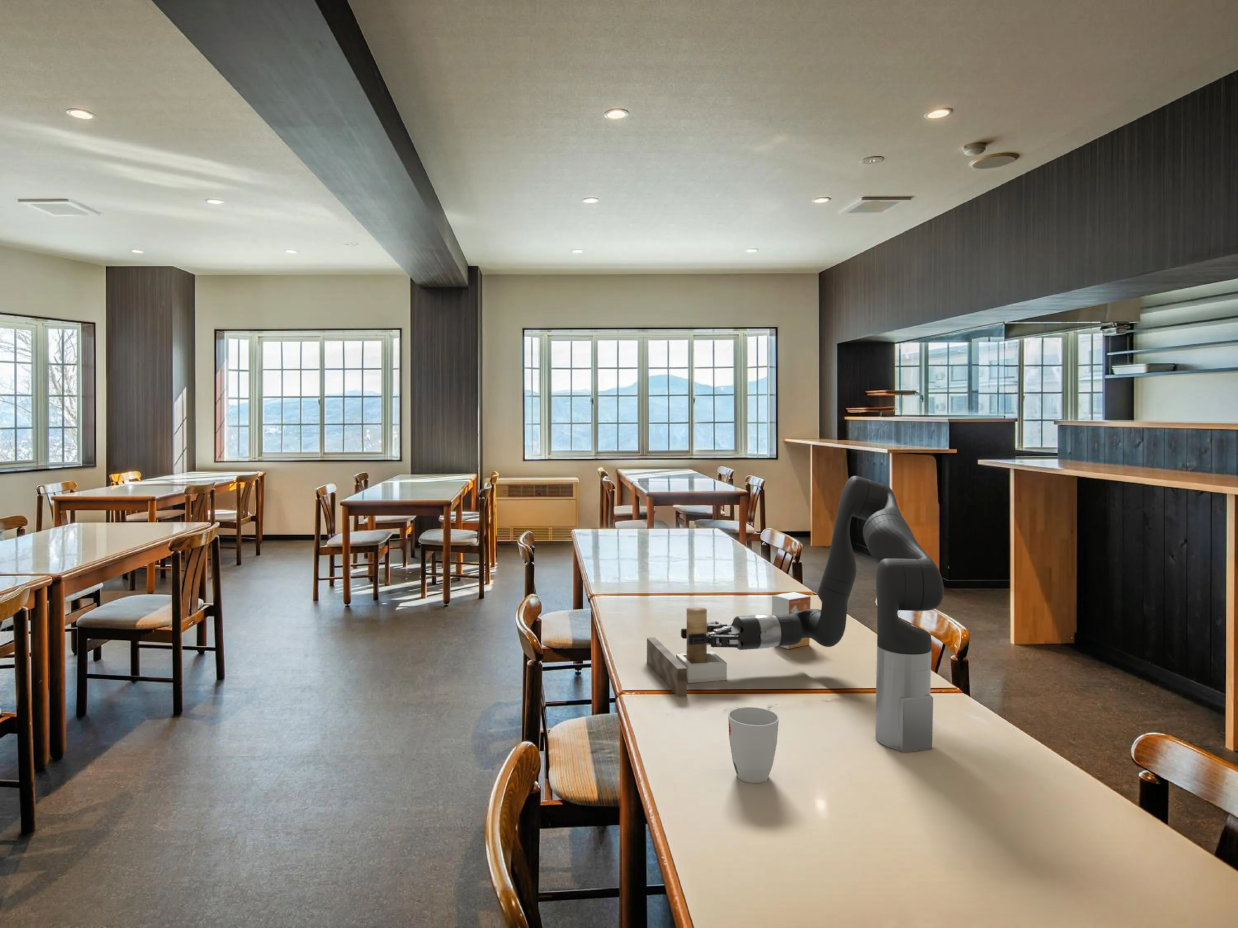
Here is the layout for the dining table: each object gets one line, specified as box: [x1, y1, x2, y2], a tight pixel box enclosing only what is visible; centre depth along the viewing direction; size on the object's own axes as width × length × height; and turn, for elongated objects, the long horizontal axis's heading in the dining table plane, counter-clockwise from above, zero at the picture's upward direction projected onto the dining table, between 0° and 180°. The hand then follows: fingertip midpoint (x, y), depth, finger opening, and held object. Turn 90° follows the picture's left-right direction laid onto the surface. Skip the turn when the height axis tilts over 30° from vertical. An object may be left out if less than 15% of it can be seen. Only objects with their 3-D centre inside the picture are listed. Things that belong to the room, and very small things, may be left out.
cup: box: [727, 706, 780, 784], centre depth 126 cm, size 8×8×10 cm
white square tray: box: [675, 651, 728, 684], centre depth 173 cm, size 9×9×4 cm
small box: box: [771, 591, 811, 650], centre depth 202 cm, size 8×6×13 cm
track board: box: [646, 636, 688, 698], centre depth 173 cm, size 24×20×7 cm
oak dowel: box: [686, 606, 708, 664], centre depth 173 cm, size 4×4×14 cm
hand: (685, 636), depth 172 cm, fingers closed on oak dowel, 4 cm apart
